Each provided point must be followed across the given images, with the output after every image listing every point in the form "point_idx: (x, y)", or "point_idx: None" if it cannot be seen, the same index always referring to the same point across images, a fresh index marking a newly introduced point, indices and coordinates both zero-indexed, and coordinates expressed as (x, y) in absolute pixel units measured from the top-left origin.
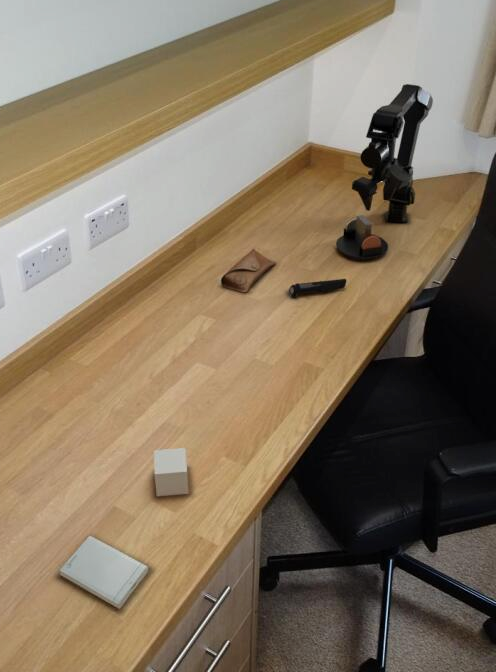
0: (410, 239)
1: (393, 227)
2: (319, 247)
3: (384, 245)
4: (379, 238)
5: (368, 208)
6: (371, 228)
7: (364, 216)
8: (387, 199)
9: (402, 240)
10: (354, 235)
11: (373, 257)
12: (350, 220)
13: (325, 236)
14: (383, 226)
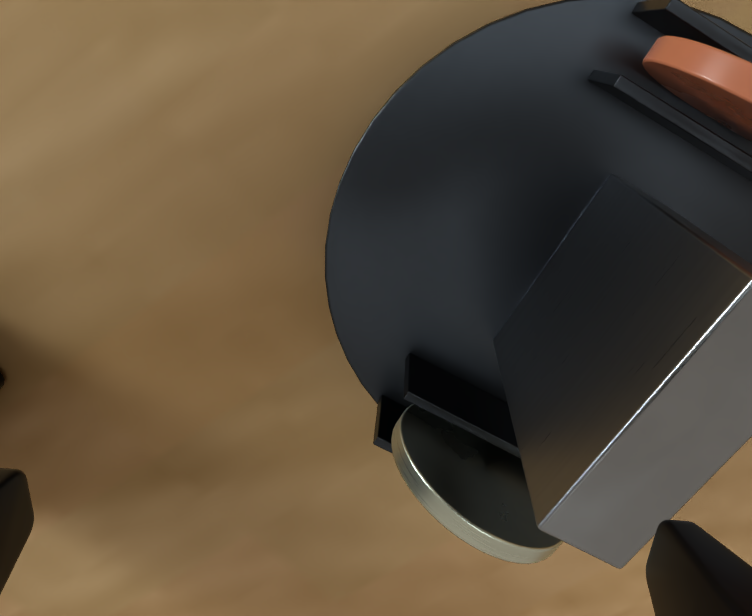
0: (60, 36)
1: (26, 288)
2: (729, 508)
3: (442, 101)
4: (352, 227)
5: (742, 573)
6: (717, 251)
7: (580, 492)
8: (26, 519)
9: (139, 85)
10: (501, 411)
11: (745, 33)
12: (533, 562)
13: (545, 561)
14: (84, 355)
